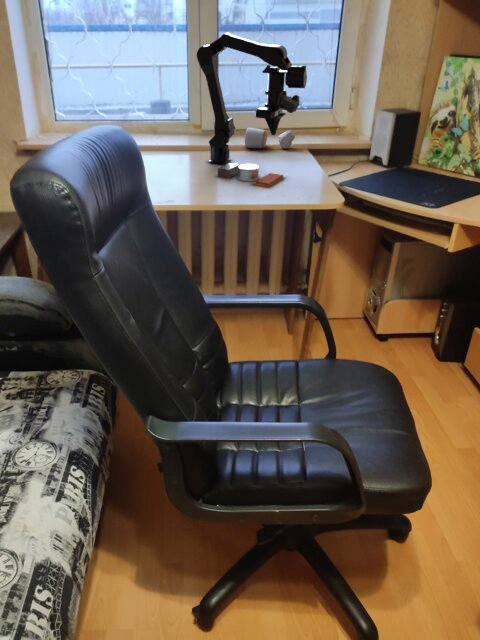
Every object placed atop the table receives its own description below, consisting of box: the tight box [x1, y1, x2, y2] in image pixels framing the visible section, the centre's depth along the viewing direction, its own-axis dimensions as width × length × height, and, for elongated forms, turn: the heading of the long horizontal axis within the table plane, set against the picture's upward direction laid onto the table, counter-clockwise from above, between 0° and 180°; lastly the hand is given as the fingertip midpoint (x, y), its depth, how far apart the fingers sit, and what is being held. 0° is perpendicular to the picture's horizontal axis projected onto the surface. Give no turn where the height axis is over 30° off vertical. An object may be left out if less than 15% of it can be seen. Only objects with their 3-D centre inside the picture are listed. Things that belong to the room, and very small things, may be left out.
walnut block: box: [217, 162, 241, 179], centre depth 198 cm, size 4×8×3 cm, turn 147°
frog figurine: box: [278, 129, 296, 150], centre depth 225 cm, size 6×7×7 cm
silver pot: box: [237, 163, 260, 182], centre depth 194 cm, size 7×7×4 cm
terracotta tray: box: [253, 172, 284, 188], centre depth 192 cm, size 6×12×1 cm, turn 147°
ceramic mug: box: [244, 127, 268, 149], centre depth 228 cm, size 11×8×8 cm
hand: (273, 135), depth 201 cm, fingers closed
